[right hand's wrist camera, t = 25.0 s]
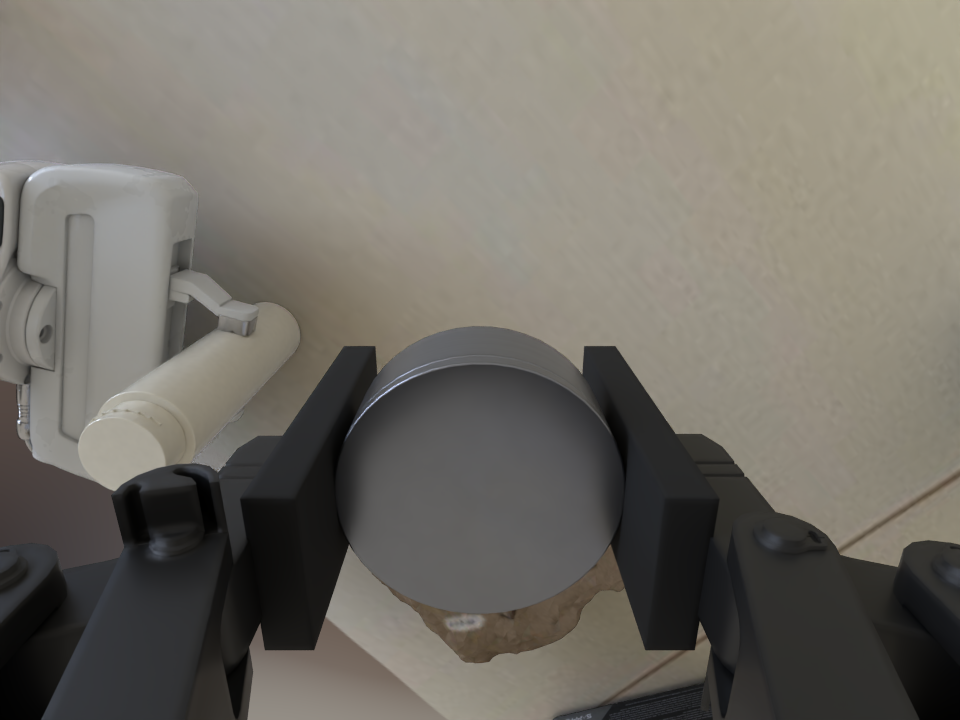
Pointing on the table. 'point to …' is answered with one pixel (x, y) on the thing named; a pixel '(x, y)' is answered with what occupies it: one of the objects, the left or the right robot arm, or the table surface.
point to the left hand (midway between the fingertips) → (247, 365)
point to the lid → (479, 473)
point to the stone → (518, 618)
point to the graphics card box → (652, 708)
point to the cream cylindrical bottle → (185, 400)
